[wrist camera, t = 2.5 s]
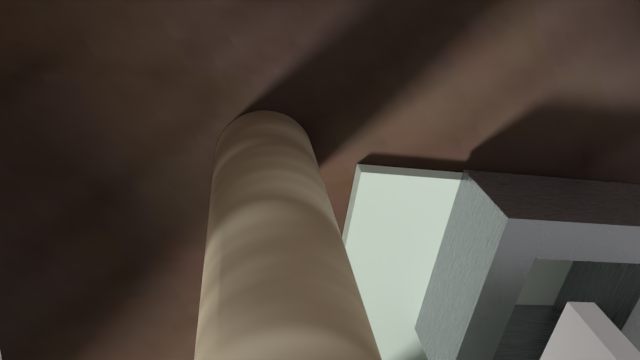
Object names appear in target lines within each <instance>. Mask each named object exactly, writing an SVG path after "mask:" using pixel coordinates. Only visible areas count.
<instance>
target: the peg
mask: <svg viewBox="0 0 640 360" xmlns="http://www.w3.org/2000/svg"><path fill="white" fill-rule="evenodd" d="M194 360H382V359H381V356H380V353H379V350H378V347H377V343H376V340H375V337H374V334H373V331H372V328H371V325H370V322H369V319H368V316H367V313H366V310H365V307H364V304H363V301H362V298H361V295H360V292H359V289H358V286H357V283H356V280H355V277H354V273H353V270H352V267H351V264H350V261H349V258H348V255H347V252H346V249H345V246H344V243H343V240H342V237H341V234H340V231H339V228H338V225H337V222H336V219H335V216H334V213H333V210H332V207H331V203H330V200H329V197H328V194H327V191H326V188H325V185H324V182H323V179H322V176H321V173H320V170H319V167H318V164H317V161H316V158H315V155H314V152H313V149H312V146H311V143H310V140H309V137H308V135H307V133H306V132H305V130H304V129H303V128H302V127H301V125H300V124H299V123H297V122H296V121H295V120H294V119H292V118H291V117H289V116H287V115H285V114H282V113H279V112H275V111H267V110H261V111H254V112H249V113H247V114H244V115H242V116H240V117H238V118H236V119H235V120H233V121H232V122H231V123H230V124H229V125H228V126H227V127H226V128H225V129H224V130H223V132H222V133H221V135H220V137H219V139H218V142H217V145H216V151H215V160H214V170H213V179H212V189H211V199H210V209H209V219H208V229H207V239H206V249H205V258H204V268H203V278H202V288H201V298H200V308H199V318H198V327H197V337H196V347H195V357H194Z"/></svg>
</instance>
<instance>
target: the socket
mask: <svg viewBox="0 0 640 360" xmlns="http://www.w3.org/2000/svg"><path fill="white" fill-rule="evenodd" d="M534 259H548V260H569V261H573V263H572V265H571V268H570V270H569V272H568V274H567V276H566V278H565V281H564V283H563V285H562V287H561V289H560V292H559V294H558V296H557V298H556V300H555V302H554V305H518V304H516V302H517V299H518V297H519V295H520V292H521V290H522V287H523V285H524V283H525V280H526V278H527V275H528V273H529V271H530V268H531V266H532V263H533V261H534ZM567 302H592V303H595V304H596V305H597V306H598V307H599V308H600V309H601V310H602V312H603V313H604V314H605V315H606V316H607V317H608V318H609V319H610V320H611V321H612V322H613V324H614V325H615V326H616V327H617V328H618V329H619V330H620V331H621V332H622V333H623V334H624V336H625V337H626V338H627V339H628V340H629V341H630V342H631V343H632V344H633V345H634V347H635V348H636V349H637V350H638V351H639V352H640V184H630V183H618V182H606V181H594V180H582V179H570V178H558V177H546V176H534V175H522V174H510V173H498V172H486V171H474V170H464V171H463V174H462V177H461V180H460V184H459V187H458V190H457V193H456V197H455V200H454V203H453V206H452V209H451V213H450V216H449V219H448V222H447V225H446V229H445V232H444V235H443V238H442V241H441V245H440V248H439V251H438V254H437V257H436V261H435V264H434V267H433V270H432V273H431V277H430V280H429V283H428V286H427V289H426V293H425V296H424V299H423V302H422V306H421V309H420V312H419V315H418V318H417V322H416V325H415V331H416V333H417V335H418V338H419V340H420V342H421V344H422V347H423V349H424V351H425V354H426V356H427V358H428V360H540V358H541V356H542V354H543V352H544V350H545V348H546V345H547V343H548V341H549V339H550V337H551V335H552V333H553V331H554V329H555V327H556V325H557V322H558V320H559V318H560V316H561V314H562V312H563V310H564V308H565V306H566V304H567Z"/></svg>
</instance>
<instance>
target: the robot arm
mask: <svg viewBox="0 0 640 360" xmlns="http://www.w3.org/2000/svg"><path fill="white" fill-rule="evenodd" d="M0 360H2V357H1V352H0ZM540 360H640V352H639V351H638V350H637V349H636V348H635V347H634V345H633V344H632V343H631V342H630V341H629V340H628V339H627V338H626V337H625V336H624V334H623V333H622V332H621V331H620V330H619V329H618V328H617V327H616V326H615V325H614V324H613V322H612V321H611V320H610V319H609V318H608V317H607V316H606V315H605V314H604V313H603V312H602V310H601V309H600V308H599V307H598V306H597V305H596V304H595V303H592V302H567V304H566V306H565V308H564V310H563V312H562V314H561V316H560V318H559V320H558V322H557V325H556V327H555V329H554V331H553V333H552V335H551V337H550V339H549V341H548V343H547V345H546V348H545V350H544V352H543V354H542V356H541V358H540Z"/></svg>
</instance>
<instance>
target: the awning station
mask: <svg viewBox="0 0 640 360" xmlns="http://www.w3.org/2000/svg"><path fill="white" fill-rule="evenodd" d="M462 174H463V173H461V172H449V171H436V170H424V169H412V168H400V167H388V166H375V165H363V164H357V167H356V172H355V177H354V182H353V187H352V191H351V196H350V201H349V206H348V211H347V216H346V220H345V225H344V230H343V235H342V240H343V243H344V246H345V249H346V252H347V255H348V258H349V261H350V264H351V267H352V270H353V273H354V277H355V280H356V283H357V286H358V289H359V292H360V295H361V298H362V301H363V304H364V307H365V310H366V313H367V316H368V319H369V322H370V325H371V328H372V331H373V334H374V337H375V340H376V343H377V347H378V350H379V353H380V356H381V359H382V360H428V358H427V356H426V354H425V351H424V349H423V347H422V344H421V342H420V340H419V338H418V335H417V333H416V331H415V325H416V322H417V318H418V315H419V312H420V309H421V306H422V302H423V299H424V296H425V293H426V289H427V286H428V283H429V280H430V277H431V273H432V270H433V267H434V264H435V261H436V257H437V254H438V251H439V248H440V245H441V241H442V238H443V235H444V232H445V229H446V225H447V222H448V219H449V216H450V213H451V209H452V206H453V203H454V200H455V197H456V193H457V190H458V187H459V184H460V180H461V177H462ZM572 263H573V261H569V260H548V259H534V261H533V263H532V266H531V268H530V271H529V273H528V275H527V278H526V280H525V283H524V285H523V287H522V290H521V292H520V295H519V297H518V299H517V302H516V304H518V305H554V302H555V300H556V298H557V296H558V294H559V292H560V289H561V287H562V285H563V283H564V281H565V278H566V276H567V274H568V272H569V270H570V268H571V265H572Z"/></svg>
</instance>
